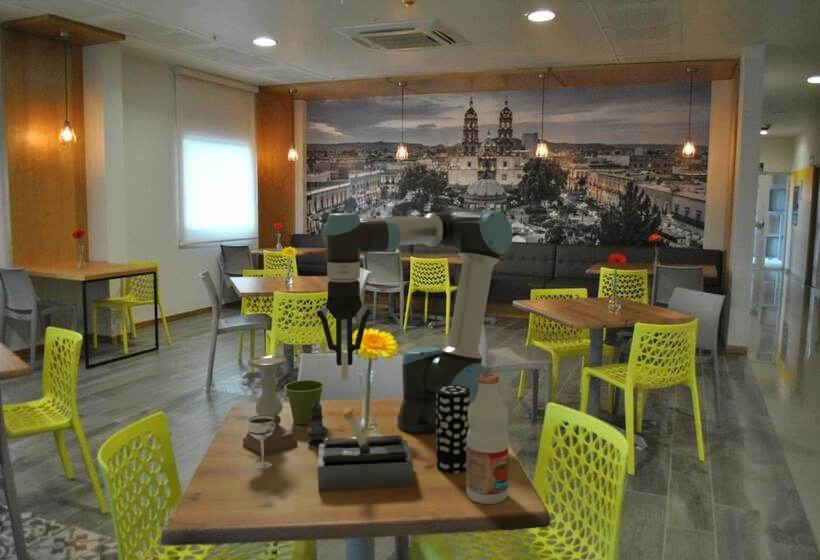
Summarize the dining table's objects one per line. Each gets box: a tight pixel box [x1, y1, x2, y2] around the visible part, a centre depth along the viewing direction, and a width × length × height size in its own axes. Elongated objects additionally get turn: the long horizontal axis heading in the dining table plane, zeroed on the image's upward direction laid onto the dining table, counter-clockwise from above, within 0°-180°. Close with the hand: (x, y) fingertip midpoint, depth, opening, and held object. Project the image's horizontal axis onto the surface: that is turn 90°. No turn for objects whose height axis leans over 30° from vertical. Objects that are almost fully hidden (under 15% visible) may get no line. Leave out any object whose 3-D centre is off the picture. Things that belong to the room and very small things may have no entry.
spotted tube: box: [435, 385, 471, 474], centre depth 166 cm, size 8×8×20 cm
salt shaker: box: [306, 400, 329, 447], centre depth 184 cm, size 6×6×12 cm
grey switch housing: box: [317, 435, 414, 492], centre depth 162 cm, size 22×14×8 cm, turn 96°
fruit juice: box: [465, 373, 510, 505], centre depth 150 cm, size 9×9×28 cm
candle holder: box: [242, 355, 298, 456], centre depth 181 cm, size 11×11×24 cm
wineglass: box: [247, 414, 275, 470], centre depth 169 cm, size 7×7×12 cm
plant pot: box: [283, 379, 325, 426], centre depth 200 cm, size 12×12×11 cm
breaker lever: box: [342, 405, 370, 454], centre depth 160 cm, size 2×4×11 cm, turn 5°
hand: (344, 378), depth 158 cm, fingers closed
